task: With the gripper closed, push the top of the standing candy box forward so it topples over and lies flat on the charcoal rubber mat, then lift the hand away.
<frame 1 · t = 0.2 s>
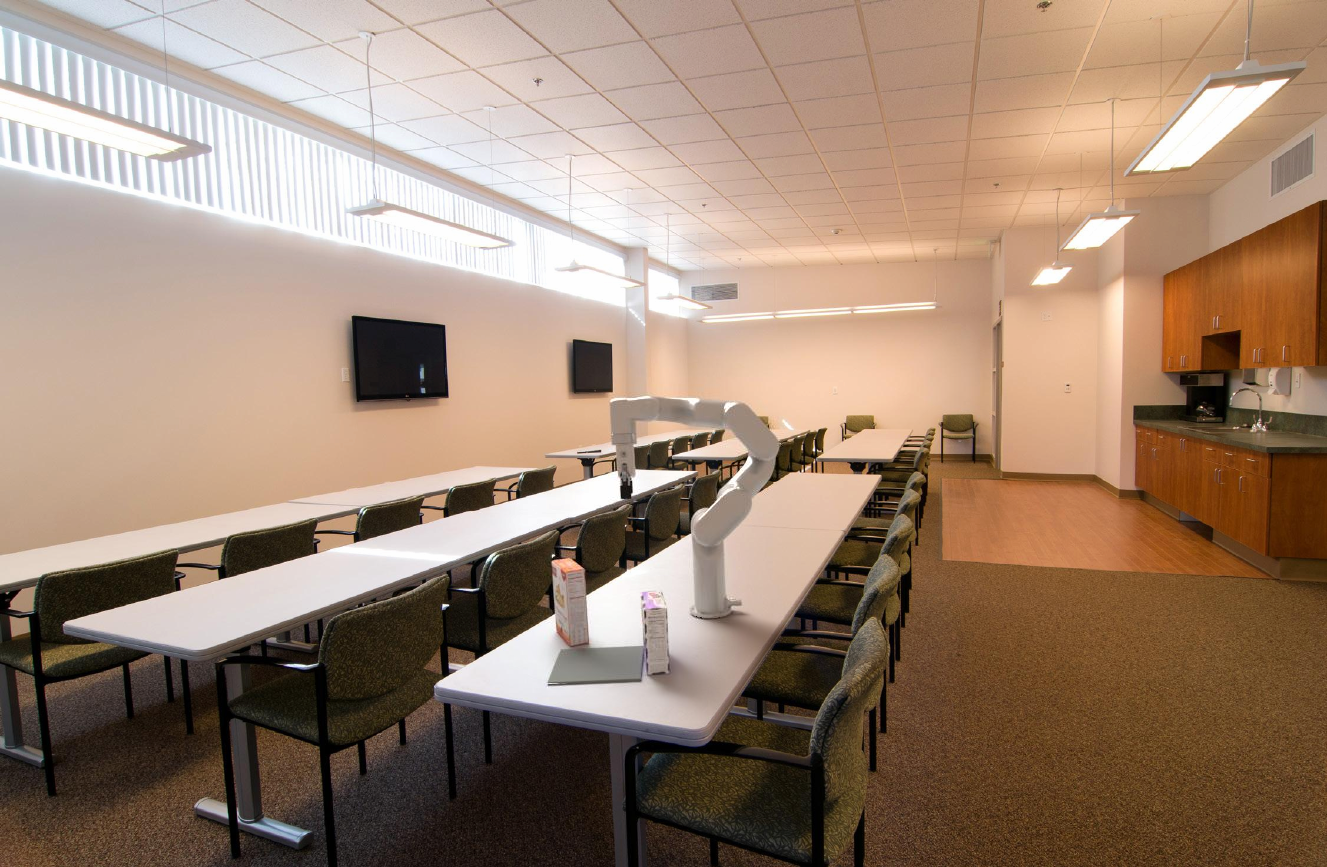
hand: (626, 496, 200), 37 cm above the table, tool pointing down, fingers open, 9 cm apart
rubber mat: (598, 665, 168), on the table
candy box: (656, 663, 167), on the table
cracker box: (571, 638, 188), on the table
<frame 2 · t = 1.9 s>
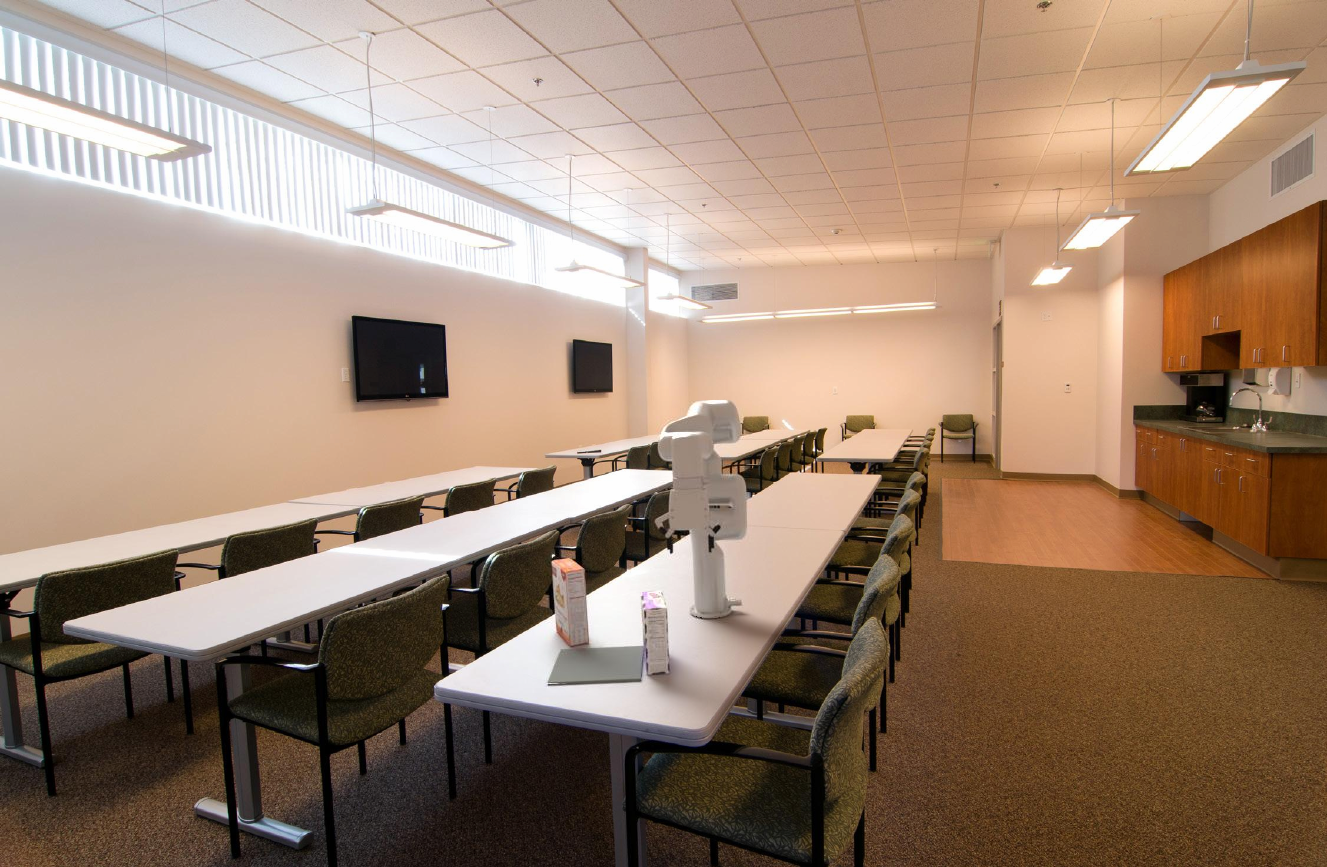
hand: (690, 552, 167), 27 cm above the table, tool pointing down, fingers open, 9 cm apart
nothing on the table moved.
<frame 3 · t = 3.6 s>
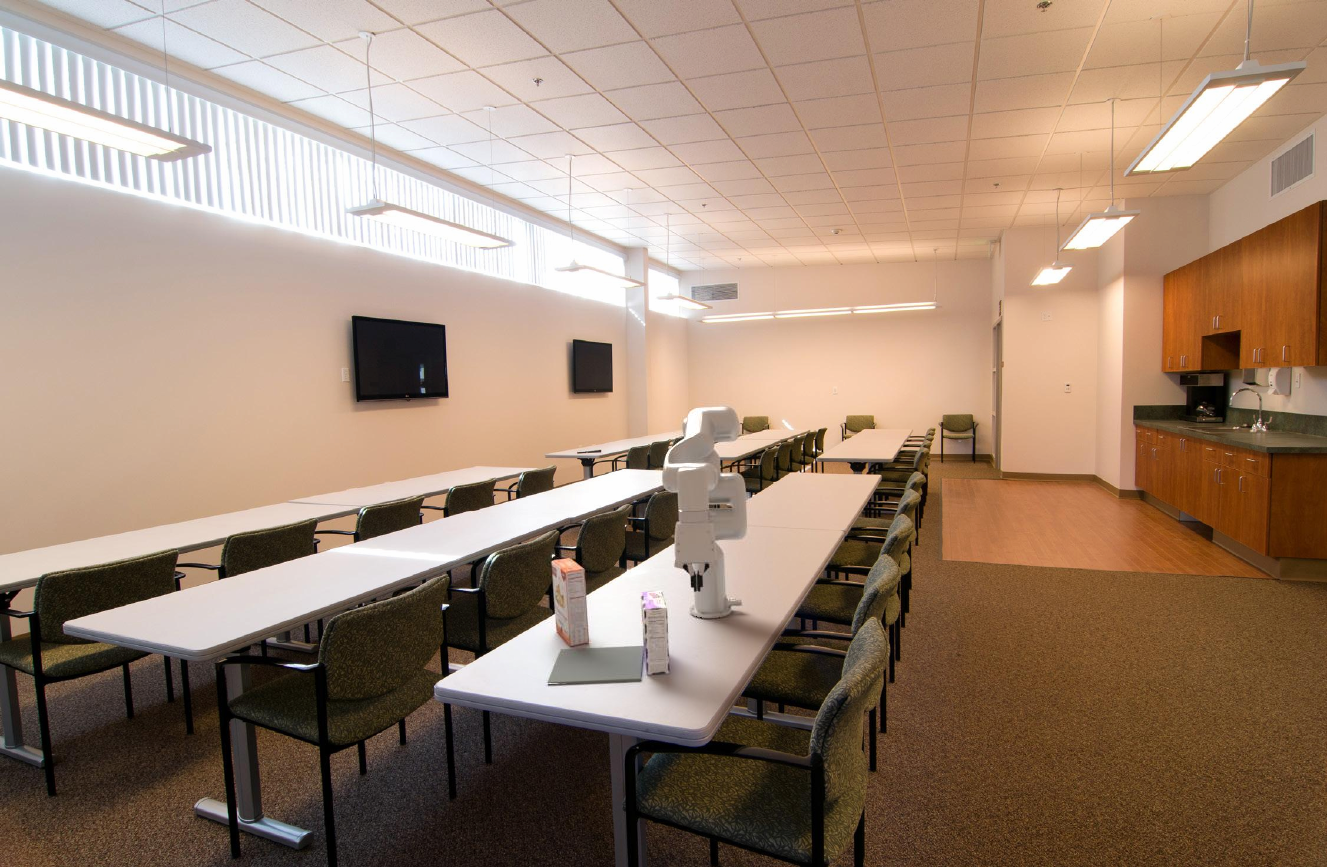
hand: (697, 590, 166), 18 cm above the table, tool pointing down, fingers closed
nothing on the table moved.
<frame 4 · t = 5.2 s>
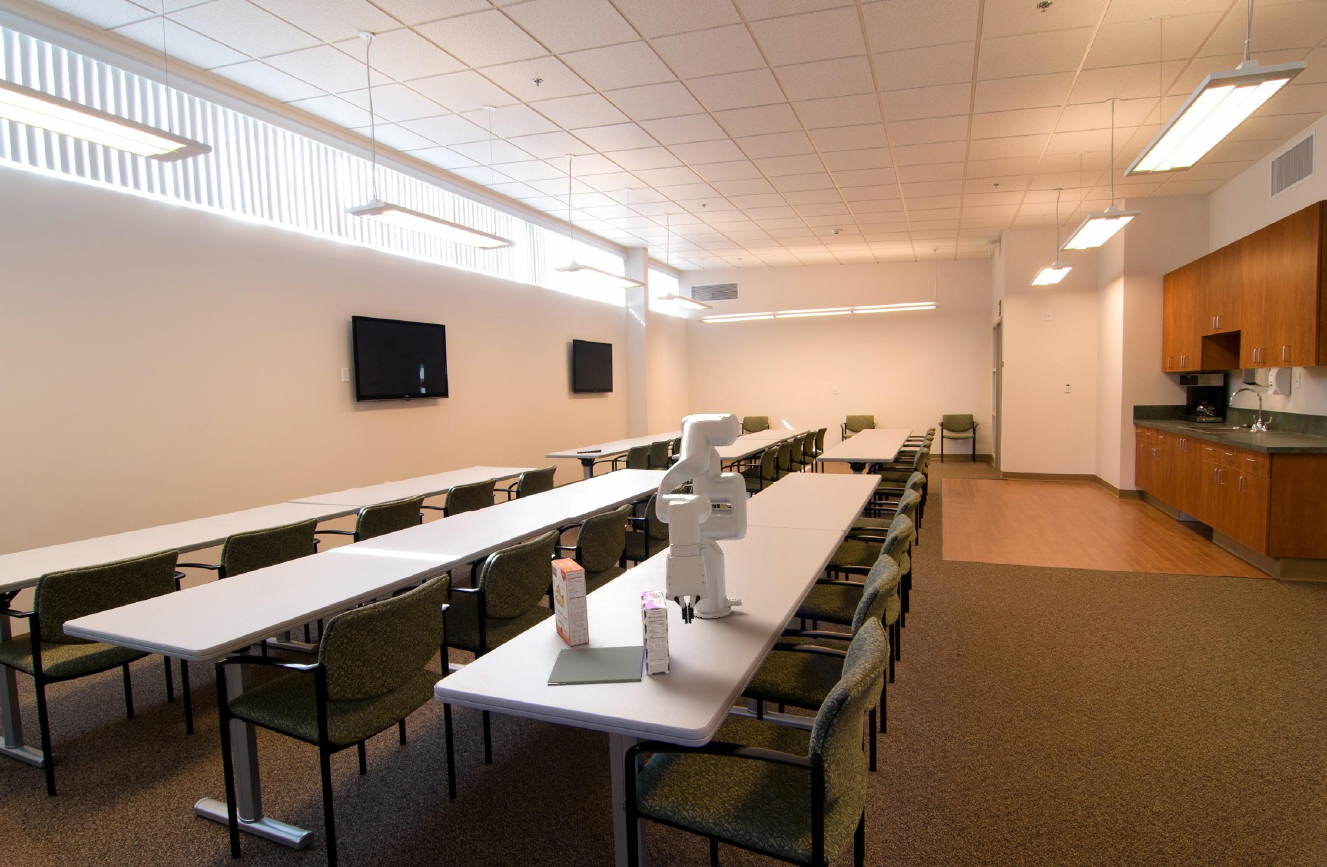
hand: (688, 621, 167), 10 cm above the table, tool pointing down, fingers closed
nothing on the table moved.
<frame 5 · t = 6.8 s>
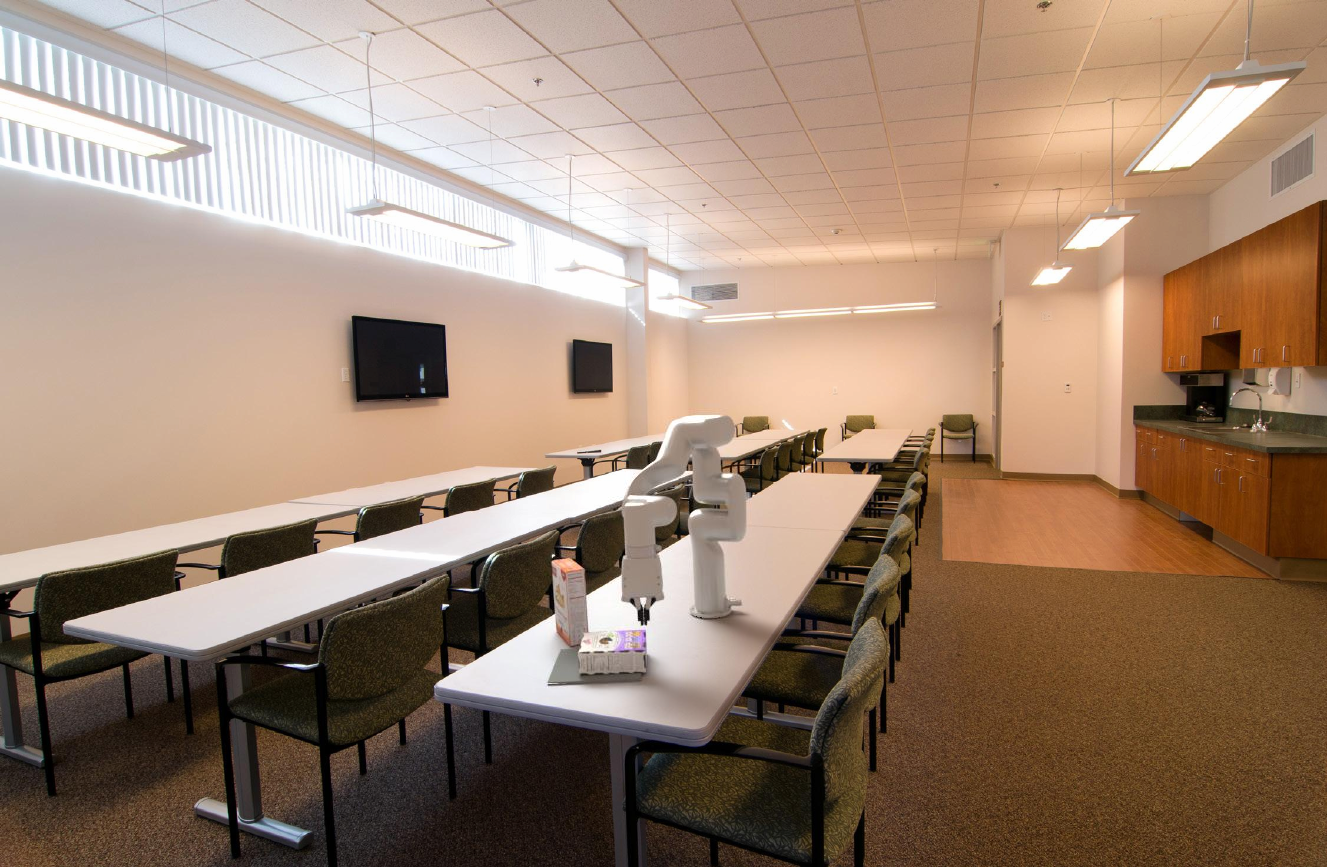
hand: (644, 623, 167), 10 cm above the table, tool pointing down, fingers closed
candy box: (647, 650, 167), point 3 cm above the table, touching rubber mat
everything else where it was.
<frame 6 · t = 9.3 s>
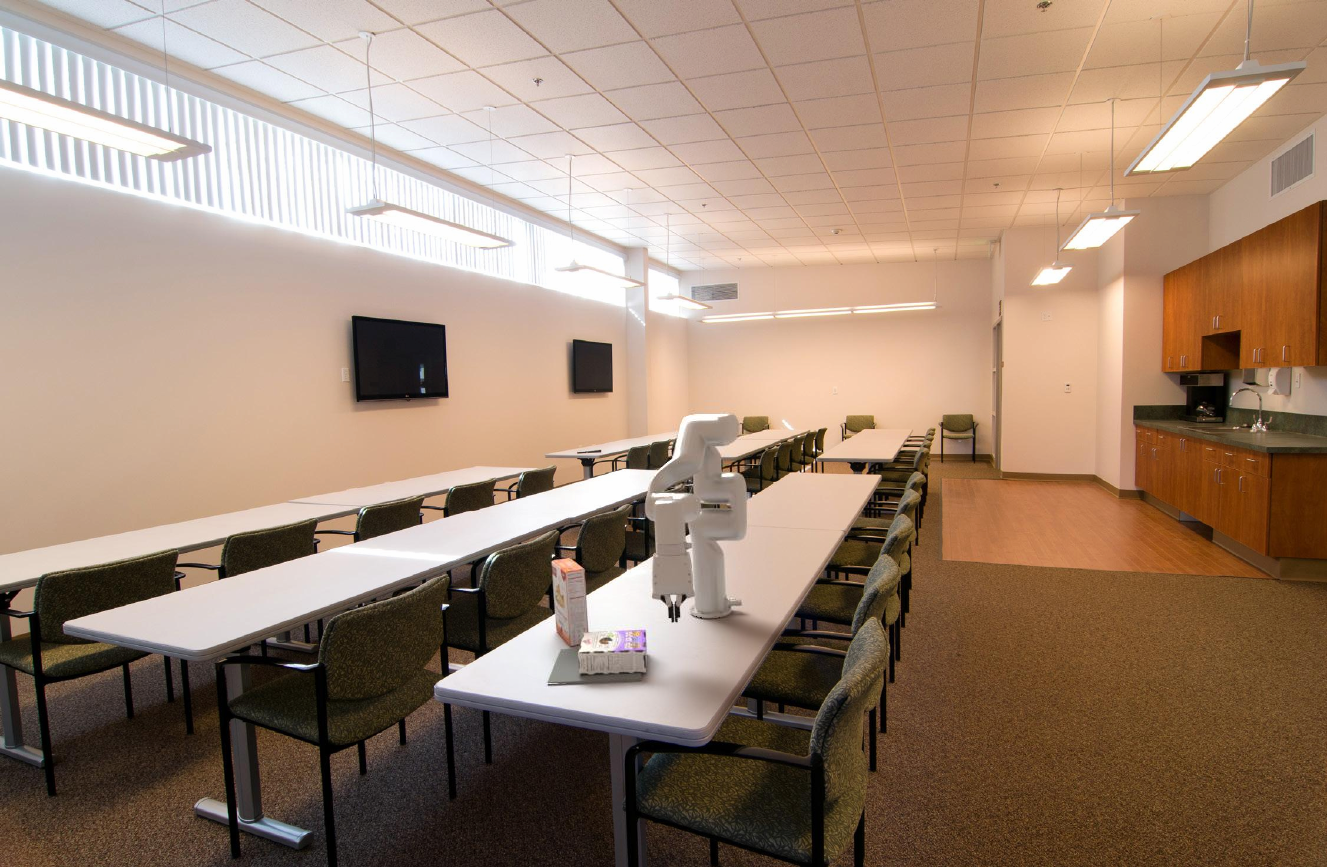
hand: (674, 620, 167), 10 cm above the table, tool pointing down, fingers closed
nothing on the table moved.
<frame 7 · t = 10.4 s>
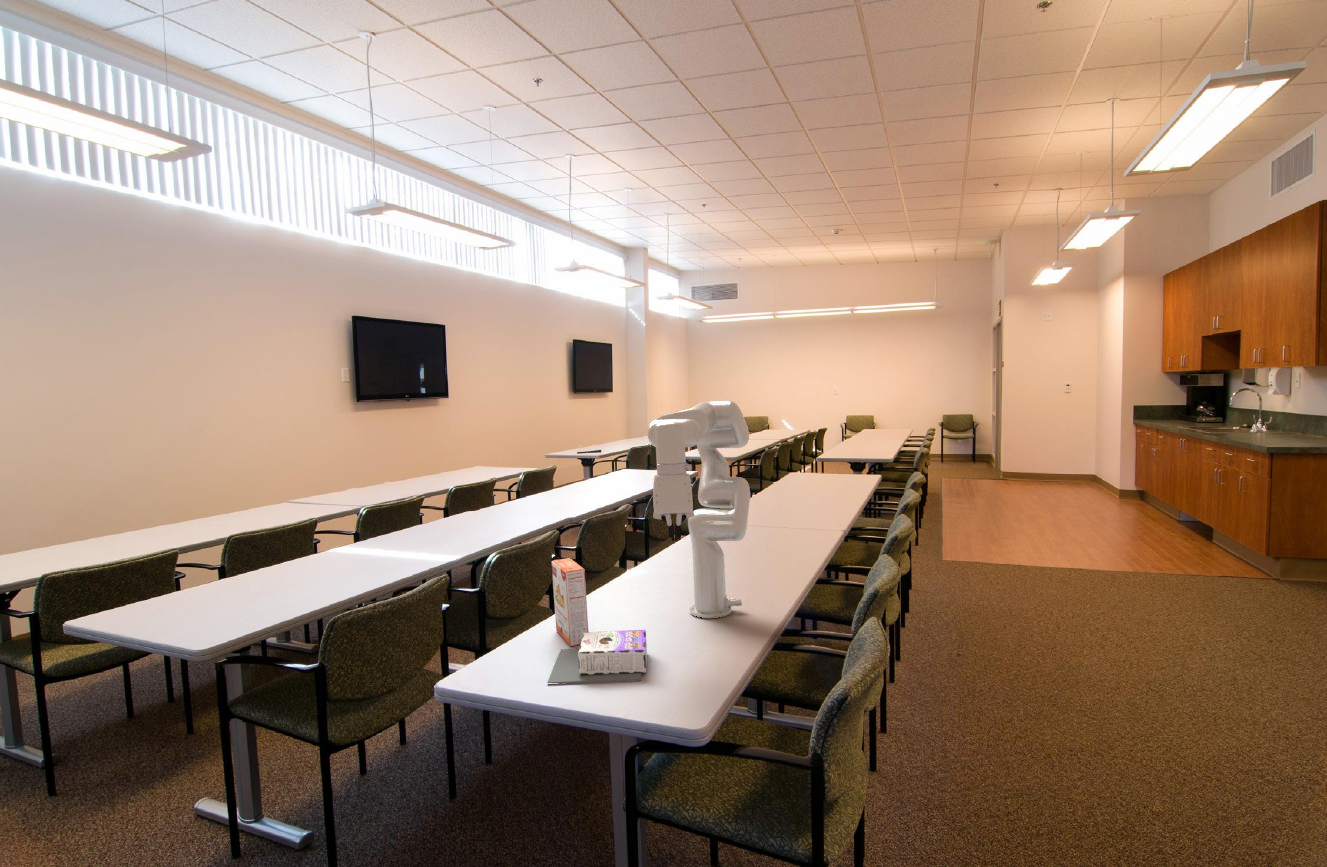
hand: (674, 540, 173), 29 cm above the table, tool pointing down, fingers closed
nothing on the table moved.
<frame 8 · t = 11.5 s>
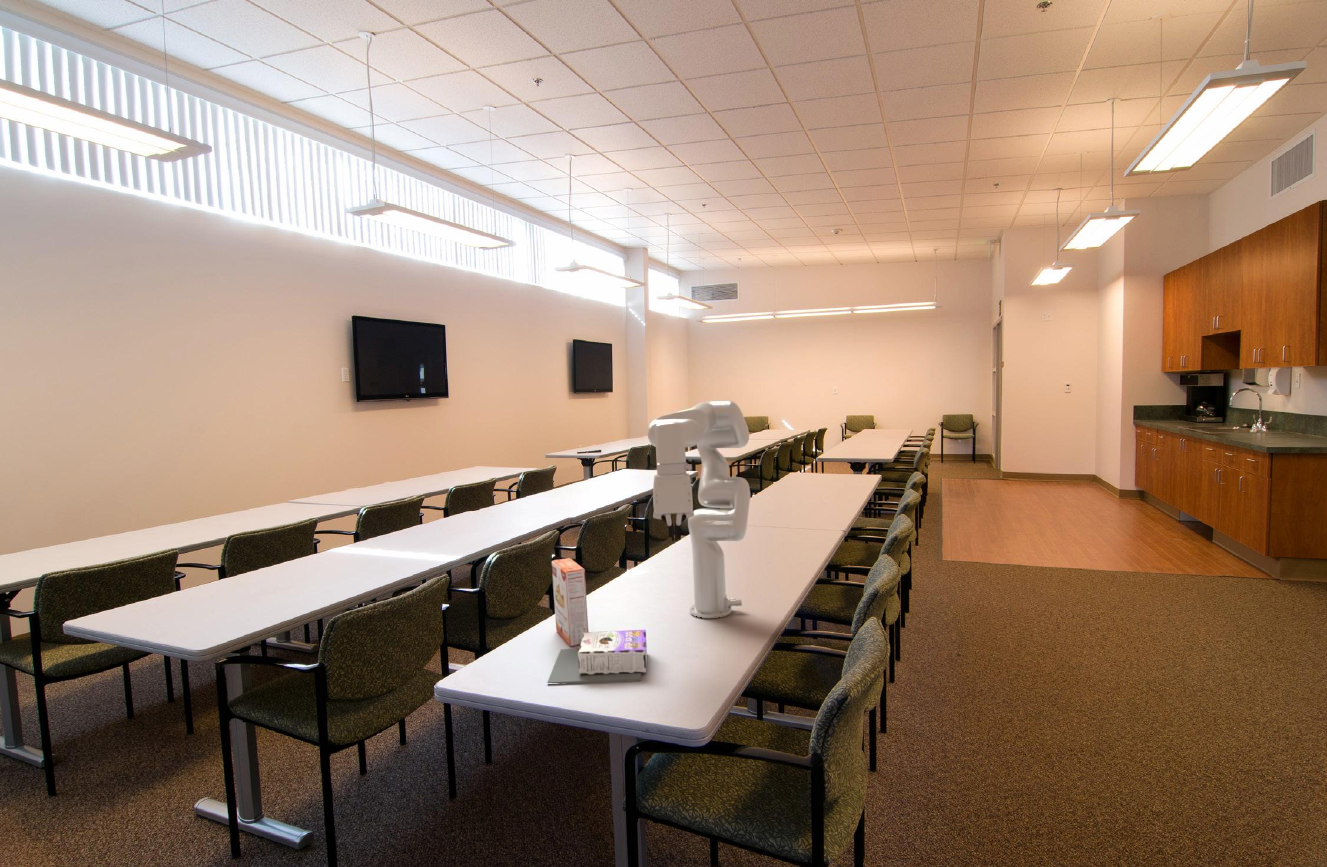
hand: (674, 539, 173), 29 cm above the table, tool pointing down, fingers closed
nothing on the table moved.
at the end: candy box tilted 89°; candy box touching rubber mat; cracker box moved 0.2 cm from its start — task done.
